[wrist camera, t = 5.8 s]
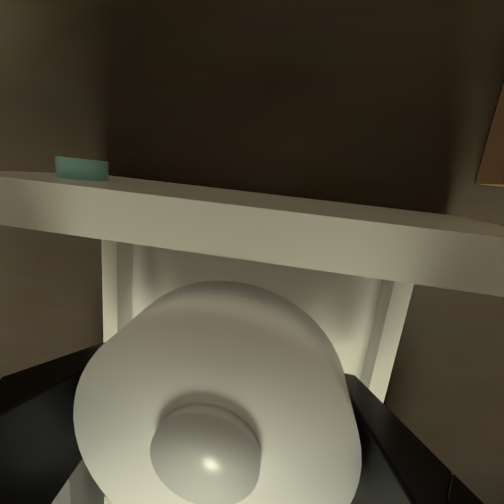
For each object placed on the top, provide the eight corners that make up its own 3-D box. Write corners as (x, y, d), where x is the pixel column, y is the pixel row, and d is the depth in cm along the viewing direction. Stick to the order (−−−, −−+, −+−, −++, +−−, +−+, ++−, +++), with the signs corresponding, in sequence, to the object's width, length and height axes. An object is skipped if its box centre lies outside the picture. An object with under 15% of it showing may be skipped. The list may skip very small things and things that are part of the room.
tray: (460, 199, 9) (631, 220, 5) (374, 510, 13) (421, 713, 8) (96, 160, 11) (-64, 143, 6) (103, 448, 14) (2, 587, 9)
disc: (368, 301, 7) (399, 353, 5) (325, 502, 8) (334, 608, 6) (120, 263, 7) (54, 295, 5) (121, 455, 9) (69, 536, 7)
